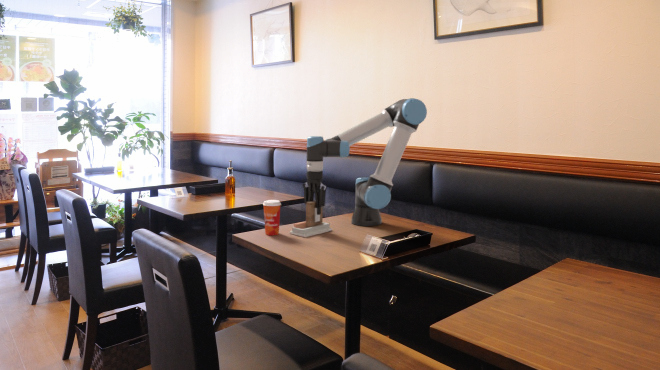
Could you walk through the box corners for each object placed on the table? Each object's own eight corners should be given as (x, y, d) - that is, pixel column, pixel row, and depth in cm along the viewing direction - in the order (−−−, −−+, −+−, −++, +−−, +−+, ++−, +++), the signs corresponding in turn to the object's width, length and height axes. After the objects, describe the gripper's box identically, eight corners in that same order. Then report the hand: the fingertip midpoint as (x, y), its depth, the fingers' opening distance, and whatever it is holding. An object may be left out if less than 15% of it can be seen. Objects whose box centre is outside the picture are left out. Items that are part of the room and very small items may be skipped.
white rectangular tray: (316, 226, 234) (316, 217, 233) (332, 230, 228) (332, 221, 227) (289, 233, 221) (289, 223, 220) (305, 237, 214) (305, 227, 213)
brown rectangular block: (310, 227, 221) (310, 203, 220) (305, 225, 223) (306, 202, 222) (322, 224, 227) (322, 201, 226) (317, 223, 229) (317, 200, 228)
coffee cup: (259, 234, 217) (259, 201, 215) (268, 230, 225) (268, 199, 223) (276, 236, 214) (276, 203, 212) (284, 232, 222) (284, 200, 219)
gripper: (296, 169, 224) (296, 219, 227) (322, 172, 213) (321, 224, 217) (307, 168, 230) (307, 216, 233) (333, 171, 219) (332, 222, 222)
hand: (314, 220), depth 225 cm, fingers closed on brown rectangular block, 3 cm apart
